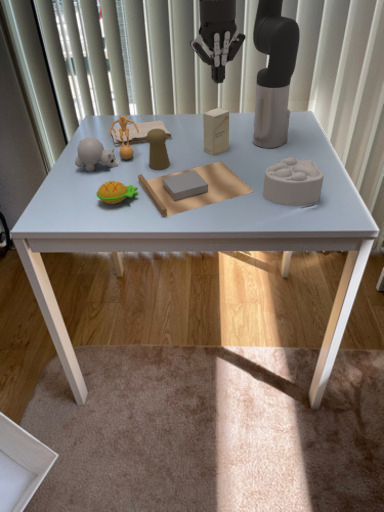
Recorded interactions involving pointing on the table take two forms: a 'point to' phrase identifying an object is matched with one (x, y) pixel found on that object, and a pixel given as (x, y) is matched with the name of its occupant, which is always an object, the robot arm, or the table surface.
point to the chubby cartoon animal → (94, 154)
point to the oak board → (219, 189)
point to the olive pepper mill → (158, 150)
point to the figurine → (126, 150)
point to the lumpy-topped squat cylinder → (293, 182)
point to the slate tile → (185, 185)
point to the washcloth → (138, 137)
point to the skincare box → (216, 131)
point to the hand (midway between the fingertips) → (218, 82)
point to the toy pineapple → (115, 192)
